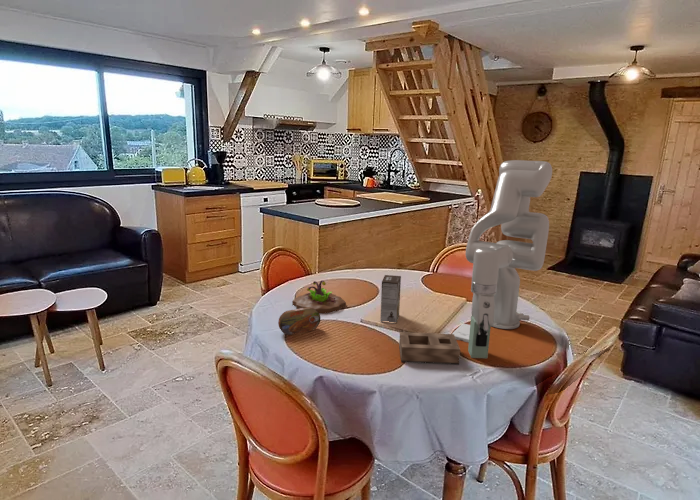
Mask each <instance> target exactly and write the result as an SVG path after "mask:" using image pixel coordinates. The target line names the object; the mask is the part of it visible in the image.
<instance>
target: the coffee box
mask: <svg viewBox="0 0 700 500" xmlns="http://www.w3.org/2000/svg"><path fill="white" fill-rule="evenodd" d="M401 281H402V276H401V275H390V274H389V275H388V274H384V276H383V279H382V280H381V293H380V295H381V296H380V299H381V300H380V321H389V322H397V323H398V321H399V317H400V308H401V307H400V303H401ZM398 316H399V317H398ZM397 320H398V321H397ZM380 321H379V322H380Z"/></svg>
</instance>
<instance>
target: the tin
mask: <svg viewBox="0 0 700 500" xmlns="http://www.w3.org/2000/svg"><path fill="white" fill-rule="evenodd" d="M320 323H321V314H319V312H318V311H317V310H315V309H314V308H311V307H306V308H300V309H296V308H295V309H289V310H285V311H284V312H283V313H281V315H280V316H279V318H278V327H279V329H280V331H281V333H283V334H284V335H287V336H292V335H297V334H302V333H303V334H304V333H309V332H312V331H314V330H316V329H317V328H318V326H319V325H320Z"/></svg>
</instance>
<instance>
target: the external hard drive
mask: <svg viewBox="0 0 700 500" xmlns="http://www.w3.org/2000/svg"><path fill="white" fill-rule="evenodd" d="M451 334H454V336H455V338H456V340H457V341H461V342H465V343H468V344H469V334H470V324H467V323H462V324H460V325H458V327H457V328H456V329H455V330H454V331H453V332H452V333H451Z"/></svg>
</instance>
